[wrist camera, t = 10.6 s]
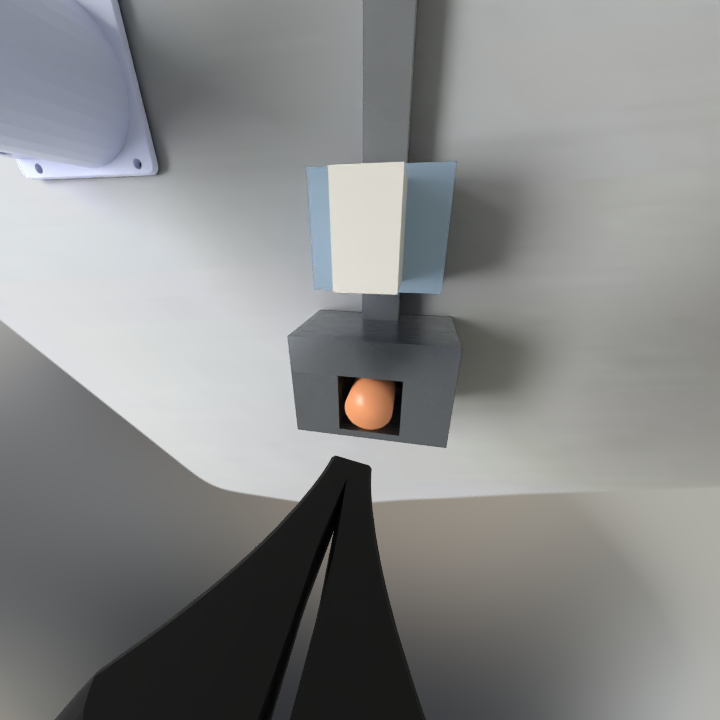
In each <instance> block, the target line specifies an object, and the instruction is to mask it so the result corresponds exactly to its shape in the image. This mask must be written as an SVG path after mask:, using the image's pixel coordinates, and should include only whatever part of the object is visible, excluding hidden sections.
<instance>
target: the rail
mask: <svg viewBox="0 0 720 720" xmlns="http://www.w3.org/2000/svg"><path fill="white" fill-rule="evenodd" d="M417 2H418V0H363V163H385V162H404V163H408V157H409V139H410V122H411V105H412V88H413V71H414V53H415V36H416V19H417ZM400 295H401V293H400V292H398V294H397V295H392V294H365V293H362V319H370V320H388V321H398V318H399V312H400Z"/></svg>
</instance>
